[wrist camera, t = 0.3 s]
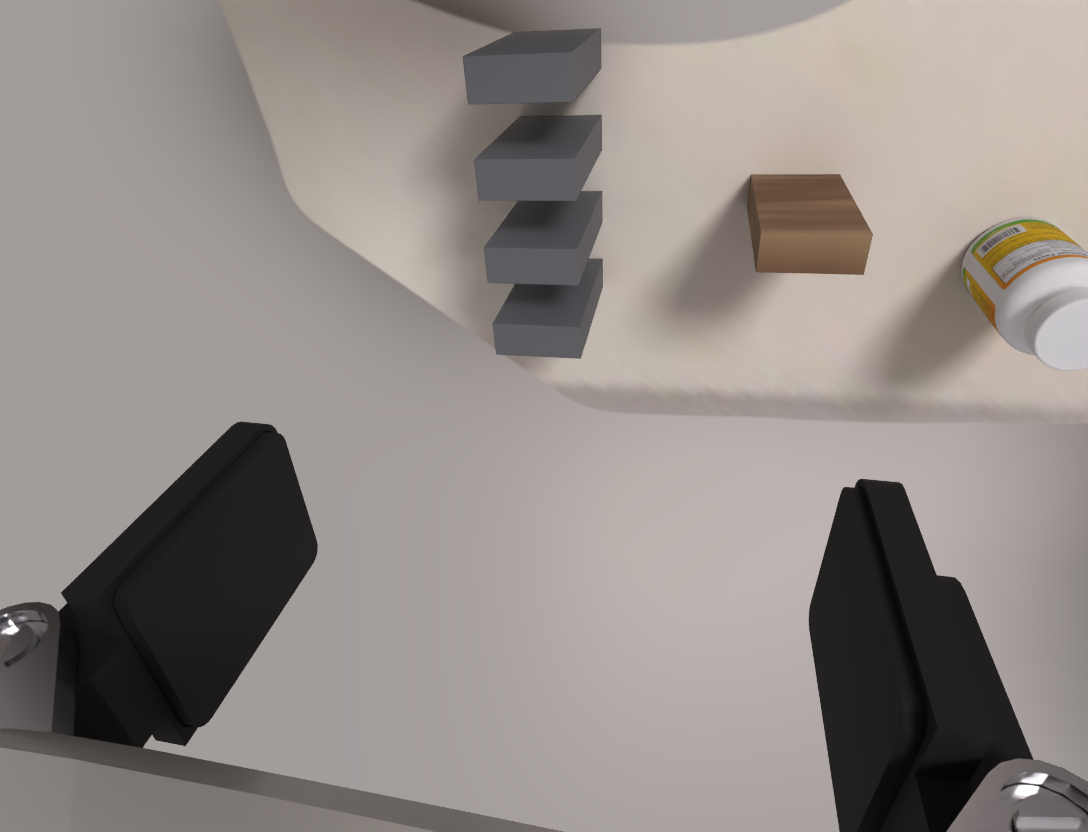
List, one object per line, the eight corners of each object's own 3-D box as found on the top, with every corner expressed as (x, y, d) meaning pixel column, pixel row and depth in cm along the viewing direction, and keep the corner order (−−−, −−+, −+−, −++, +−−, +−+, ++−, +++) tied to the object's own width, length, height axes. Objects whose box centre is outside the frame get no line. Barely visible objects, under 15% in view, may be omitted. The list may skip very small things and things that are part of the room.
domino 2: (520, 116, 41) (474, 159, 33) (601, 115, 40) (574, 158, 32) (522, 150, 42) (478, 200, 34) (601, 150, 41) (575, 200, 33)
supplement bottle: (1035, 306, 41) (1111, 391, 34) (943, 294, 42) (997, 374, 34) (1083, 221, 38) (1178, 293, 30) (982, 209, 39) (1051, 276, 31)
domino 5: (751, 174, 40) (761, 232, 32) (839, 174, 39) (872, 234, 31) (747, 207, 41) (756, 271, 33) (833, 208, 40) (863, 274, 32)
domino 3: (525, 190, 43) (484, 247, 35) (602, 191, 42) (577, 249, 35) (527, 221, 45) (488, 282, 37) (602, 222, 44) (578, 285, 36)
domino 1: (514, 32, 38) (462, 56, 30) (600, 28, 37) (571, 52, 29) (516, 71, 39) (468, 104, 32) (601, 68, 39) (572, 101, 31)
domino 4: (530, 257, 46) (492, 323, 38) (602, 258, 45) (579, 327, 37) (532, 284, 47) (496, 354, 39) (602, 286, 46) (580, 358, 38)
